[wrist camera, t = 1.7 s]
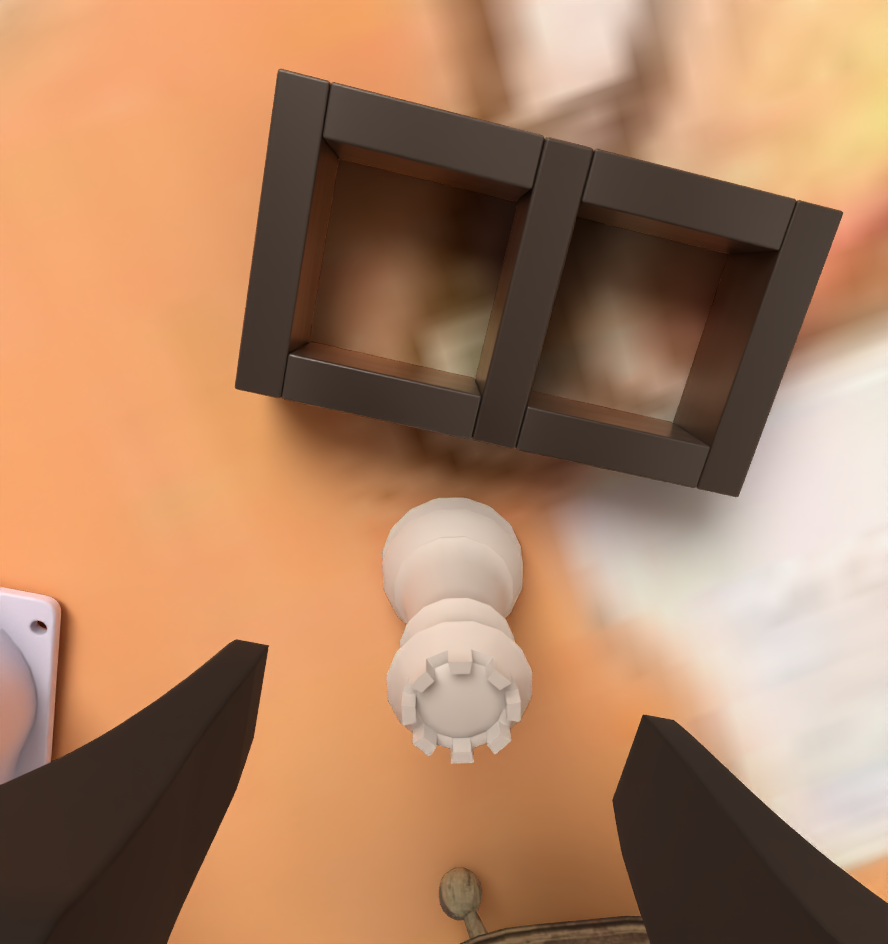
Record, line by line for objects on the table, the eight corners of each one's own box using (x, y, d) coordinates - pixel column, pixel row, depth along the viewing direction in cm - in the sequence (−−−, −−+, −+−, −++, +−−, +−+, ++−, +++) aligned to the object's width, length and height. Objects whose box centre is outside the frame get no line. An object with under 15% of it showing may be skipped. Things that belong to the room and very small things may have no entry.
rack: (782, 220, 19) (845, 211, 16) (696, 466, 21) (738, 498, 18) (302, 100, 18) (277, 66, 15) (262, 372, 20) (233, 389, 17)
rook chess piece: (547, 571, 22) (608, 733, 14) (435, 642, 22) (436, 833, 15) (469, 464, 21) (489, 577, 13) (354, 542, 21) (310, 692, 14)
